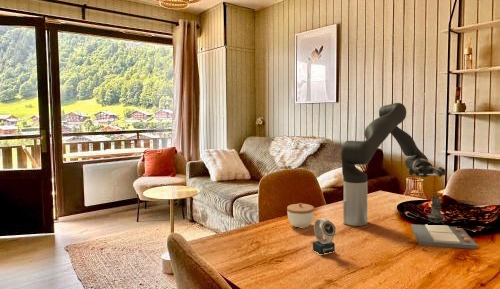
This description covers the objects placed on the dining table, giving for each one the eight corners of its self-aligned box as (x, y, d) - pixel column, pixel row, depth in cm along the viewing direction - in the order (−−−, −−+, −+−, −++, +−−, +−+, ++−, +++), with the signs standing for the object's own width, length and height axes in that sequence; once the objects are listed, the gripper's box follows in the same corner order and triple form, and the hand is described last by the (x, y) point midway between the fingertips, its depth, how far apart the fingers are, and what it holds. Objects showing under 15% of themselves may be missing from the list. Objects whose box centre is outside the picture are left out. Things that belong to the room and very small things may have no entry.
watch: (324, 258, 111) (323, 224, 110) (309, 249, 118) (309, 217, 117) (338, 254, 113) (338, 221, 112) (323, 246, 121) (323, 214, 120)
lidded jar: (314, 222, 146) (314, 199, 145) (314, 231, 136) (314, 207, 135) (288, 221, 148) (287, 199, 147) (286, 230, 138) (285, 206, 137)
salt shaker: (447, 227, 135) (448, 196, 134) (431, 227, 135) (432, 196, 134) (439, 222, 141) (440, 192, 140) (424, 222, 141) (425, 192, 140)
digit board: (419, 245, 119) (419, 238, 119) (411, 227, 136) (411, 221, 136) (477, 249, 114) (477, 242, 114) (461, 230, 131) (461, 224, 131)
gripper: (405, 159, 167) (411, 165, 151) (439, 159, 163) (448, 165, 147) (405, 175, 167) (410, 182, 152) (439, 175, 163) (448, 183, 148)
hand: (429, 174), depth 150 cm, fingers open, 8 cm apart
